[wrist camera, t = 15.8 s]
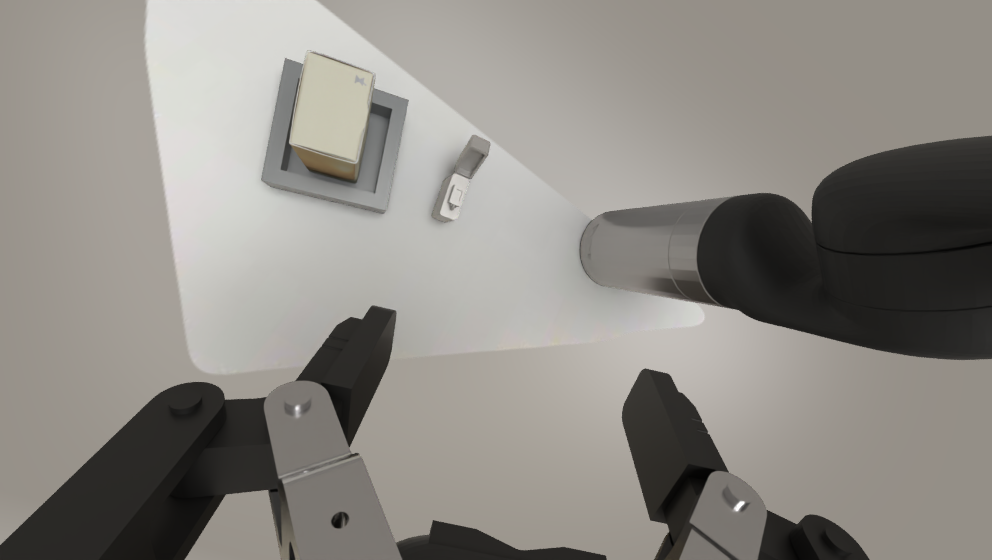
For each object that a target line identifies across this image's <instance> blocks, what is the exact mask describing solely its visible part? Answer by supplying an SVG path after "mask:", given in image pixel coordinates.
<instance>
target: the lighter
mask: <svg viewBox="0 0 992 560" xmlns="http://www.w3.org/2000/svg"><path fill="white" fill-rule="evenodd" d="M489 148H490V142H489V141H487V140H485V139H483V138H480V137H478V136H476V135H472V137H471V138H470V140H469V142H468V143H467V145H466V147H465V148H464V150H463V151H462V153H461V155H460V156H459V158H458V160H457V162H456V166H455V170H454V172H455V174H453V175H451V176H450V177H448V178H447V179H445V180H444V181H443V183H442V186H441V189H440V192H439V195H438V198H437V201H436V204H435V207H434V210H433V213H432V217H433V218H435V219H438V220H440V221H443V222H449V221H454V220H457V218H458V215H459V212H460V209H461V206H462V203H463V201H464V198H465V195H466V192H467V189H468V186H469V183H470V180H469V179H472V177H473V176H474V174H475V173H476V171H477V170H478V169H479V167H480V166H481V164H482V163H483V162H484V160H485V159H486V157H487V156H488V153H489Z"/></svg>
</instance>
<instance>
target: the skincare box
mask: <svg viewBox="0 0 992 560" xmlns="http://www.w3.org/2000/svg"><path fill="white" fill-rule="evenodd" d="M374 83H375V73H373V72H371V71H368V70H365V69H363V68H360V67H357V66H355V65H352V64H349V63H347V62H344V61H341V60H338V59H336V58H333V57H330V56H327V55H324V54H320V53H317V52H314V51H311V50H308V51H307V53H306V56H305V60H304V64H303V67H302V72H301V76H300V81H299V86H298V91H297V96H296V102H295V107H294V113H293V119H292V126H291V133H290V140H289V144H290V145H291V146H292V148H293V149H294V151H295V152H296V153H297V155H298V156H299V158H300V159H301V160H302V162H303V163H304V165H305V166H306V168H307V169H308V171H310V172H313V173H317V174H320V175H323V176H327V177H330V178H334V179H337V180H341V181H345V182H349V183H356V182H357V180H358V176H359V171H360V167H361V162H362V158H363V153H364V148H365V142H366V137H367V131H368V125H369V118H370V110H371V104H372V97H373V90H374Z"/></svg>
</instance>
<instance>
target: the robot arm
mask: <svg viewBox="0 0 992 560" xmlns="http://www.w3.org/2000/svg"><path fill="white" fill-rule="evenodd" d="M580 253H581V260H582V264H583V267H584V269H585V271H586V273H587V274H588V275H589V277H590V278H591V279H592V280H593V281H595V282H596V283H598V284H600V285H602V286H606V287H611V288H616V289H622V290H627V291H632V292H638V293H644V294H650V295H655V296H661V297H667V298H672V299H678V300H684V301H689V302H695V303H702V304H708V305H714V306H720V307H725V308H731V309H736V310H739V311H741V312H742V313H744V314H745V315H747V316H749V317H751V318H753V319H755V320H758V321H761V322H765V323H769V324H773V325H777V326H782V327H786V328H790V329H794V330H798V331H802V332H806V333H810V334H814V335H818V336H822V337H825V338H829V339H833V340H837V341H841V342H845V343H849V344H853V345H857V346H862V347H866V348H871V349H875V350H880V351H885V352H891V353H897V354H903V355H909V356H916V357H926V358H938V359H954V360H975V359H992V136H985V137H974V138H963V139H954V140H946V141H939V142H932V143H926V144H920V145H914V146H909V147H904V148H899V149H894V150H890V151H885V152H881V153H878V154H874V155H870V156H867V157H864V158H861V159H859V160H856V161H853V162H851V163H849V164H847V165H845V166H842V167H840V168H839V169H837V170H835V171H834V172H832V173H831V174H830V175H828V176H827V177H826V178H824V179H823V181H822V182H821V183H820V185H819V186H818V187H817V188H816V190H815V193H814V196H813V200H812V223H811V222H810V220H809V219H808V217H807V216H806V215H805V213H804V212H803V211H802V210H801V209H800V208H799V207H798V206H797V205H796V204H795V203H793V202H792V201H790V200H789V199H787V198H785V197H783V196H779V195H776V194H771V193H757V194H748V195H740V196H734V197H725V198H717V199H708V200H701V201H694V202H685V203H676V204H668V205H659V206H652V207H643V208H634V209H626V210H617V211H610V212H605V213H603V214H601V215H599V216H597V217H596V218H595V219H593V220H592V221H591V223H590V224H589V225H588V226H587V228H586V230H585V232H584V234H583V237H582V240H581V248H580ZM395 322H396V311H395V310H391V309H386V308H382V307H378V306H371V307H370V309H369V310H368V312H367V313H366V315H365V316H364V318H363V319H357V318H353V317H350V318H349V319H347V320H345V321H343V322H342V323H340V324H338V325H337V326H336V327H335V329H334V330H333V331H332V333H331V334H330V335H329V338H327V339H326V341H325V342H324V343H323V345H322V347H320V349H319V350H318V351H317V353H316V354H315V355H314V357H313V358H312V359H311V361H310V362H309V363H308V365H307V366H306V367H305V369H304V370H303V372H302V373H301V374H300V375H299V377H298V378H297V380H296V381H294V382H289V383H286V384H284V385H281V386H279V387H277V388H276V389H274V390H273V391H272V392H271V393H270V394H269V395H268V397H264V398H257V399H234V400H225V398H224V393H223V391H222V390H221V389H220V388H219V387H217V386H216V385H213V384H210V383H205V382H192V383H184V384H180V385H177V386H174V387H171V388H169V389H167V390H165V391H163V392H161V393H160V394H158V395H157V396H155V398H153V399H152V400H151V401H150V402H149V403H148V404H147V405H146V406H145V407H143V408H142V409H141V410H140V412H138V413H137V414H136V415H135V416H134V417H133V418H132V419H131V420H130V421H129V422H128V423H127V424H126V425H125V426H124V427H123V428H122V429H121V430H120V431H119V432H118V433H116V434H115V435H114V436H113V437H112V438H111V439H110V440H109V441H108V442H107V443H106V444H105V445H104V446H103V447H102V448H101V449H100V450H99V451H98V452H97V453H96V454H95V455H94V456H93V457H91V458H90V459H89V460H88V461H87V462H86V463H85V464H84V465H83V466H82V467H81V468H80V469H79V470H78V471H77V472H76V473H75V474H74V475H73V476H72V477H71V478H70V479H69V480H68V481H67V482H66V483H64V484H63V485H62V486H61V487H60V488H59V489H58V490H57V491H56V492H55V493H54V494H53V495H52V496H51V497H50V498H49V499H48V500H47V501H46V502H45V503H44V504H43V505H42V506H41V507H39V508H38V509H37V510H36V511H35V512H34V513H33V514H32V515H31V516H30V517H29V518H28V519H27V520H26V521H25V522H24V523H23V524H22V525H21V526H20V527H19V528H18V529H17V530H16V531H15V532H13V533H12V534H11V535H10V536H9V537H8V538H7V539H6V540H5V541H4V542H3V543H2V544H1V545H0V560H184V559H185V558H186V556H187V555H188V553H189V552H190V550H191V549H192V547H193V545H194V544H195V542H196V541H197V539H198V538H199V536H200V534H201V533H202V531H203V530H204V528H205V526H206V525H207V523H208V522H209V520H210V518H211V517H212V516H213V514H214V512H215V511H216V509H217V508H218V506H219V505H220V503H221V501H222V500H223V498H224V497H225V495H226V494H233V493H242V492H251V491H261V490H268V491H269V497H270V502H271V508H272V513H273V519H274V524H275V529H276V535H277V541H278V545H279V551H280V557H281V560H606V556H605V555H600V554H595V553H591V552H586V551H581V550H576V549H571V548H566V547H560V548H548V549H537V550H525V551H524V550H518V549H515V548H513V547H511V546H509V545H507V544H505V543H503V542H501V541H499V540H497V539H495V538H493V537H491V536H489V535H487V534H485V533H483V532H481V531H479V530H477V529H473V528H468V527H463V526H458V525H453V524H448V523H444V522H439V521H434V520H433V523H432V527H431V530H430V534H429V535H423V536H417V537H412V538H408V539H405V540H403V541H399V542H397V543H396V542H395V540H394V537H393V535H392V533H391V530H390V527H389V525H388V522H387V520H386V517H385V515H384V512H383V510H382V507H381V505H380V502H379V499H378V497H377V495H376V492H375V489H374V487H373V484H372V482H371V479H370V477H369V474H368V472H367V469H366V467H365V464H364V462H363V459H362V458H361V456H360V455H359V454H358V453H355V454H352V453H351V451H350V449H349V447H350V445H351V443H352V441H353V439H354V437H355V434H356V432H357V430H358V428H359V426H360V424H361V421H362V419H363V417H364V415H365V413H366V411H367V409H368V407H369V404H370V402H371V400H372V398H373V396H374V394H375V392H376V390H377V387H378V385H379V383H380V381H381V379H382V377H383V374H384V372H385V370H386V368H387V365H388V362H389V359H390V355H391V350H392V343H393V336H394V329H395ZM622 422H623V426H624V429H625V433H626V436H627V440H628V443H629V447H630V450H631V454H632V458H633V461H634V464H635V468H636V471H637V475H638V478H639V482H640V485H641V489H642V493H643V496H644V500H645V503H646V507H647V510H648V514H649V517H650V520H651V521H656V522H661V523H666V524H667V525H668V528H669V532H668V533H667V535H666V536H665V538H664V540H663V542H662V544H661V546H660V548H659V550H658V553H657V554H656V556H655V559H654V560H869V558H868V557H867V555H866V554H865V552H864V551H863V550H862V548H861V547H860V545H859V544H858V543H857V542H856V541H855V540H854V539H853V538H852V537H851V536H850V535H849V534H848V533H847V532H846V531H845V530H843V529H842V528H841V527H839V526H838V525H836V524H835V523H833V522H832V521H830V520H828V519H826V518H823V517H821V516H818V515H807V516H805V517H804V518H803V519H802V520H801V521H800V522H799V523H798V524H795V523H793V522H791V521H788V520H787V519H785V518H783V517H780V516H778V515H776V514H774V513H772V512H770V511H768V510H766V507H765V505H764V503H763V501H762V499H761V498H760V496H759V495H758V494H757V493H756V491H755V490H754V489H753V488H752V487H751V486H750V485H748V484H747V483H746V482H745V481H743V480H742V479H740V478H738V477H737V476H735V475H733V474H730V473H729V472H728V470H727V468H726V466H725V464H724V462H723V460H722V458H721V456H720V454H719V452H718V450H717V448H716V447H715V445H714V443H713V441H712V439H711V437H710V435H709V434H708V431H707V429H706V427H705V425H704V423H702V419H701V417H700V415H699V414H698V412H697V410H696V408H695V406H694V405H693V404H692V403H691V402H690V401H689V400H688V398H687V397H686V396H685V395H684V394H683V393H680V392H678V390H677V388H676V386H675V384H674V382H673V380H672V378H671V376H670V375H669V374H667V373H663V372H658V371H654V370H649V369H643V370H642V371H641V372H640V374H639V376H638V378H637V380H636V382H635V384H634V385H633V387H632V389H631V391H630V393H629V395H628V397H627V399H626V401H625V403H624V406H623V411H622Z"/></svg>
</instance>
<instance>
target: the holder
mask: <svg viewBox="0 0 992 560" xmlns="http://www.w3.org/2000/svg"><path fill="white" fill-rule="evenodd" d="M302 67H303V64H301V63H298V62H295V61H292V60H289V59H286V58H285V61H284V66H283V71H282V76H281V82H280V87H279V92H278V97H277V102H276V107H275V112H274V117H273V122H272V127H271V132H270V137H269V142H268V147H267V153H266V158H265V163H264V168H263V173H262V178H261V180H262V181H263V182H265V183H266V184H267V185H269V186H270V187H274V188H279V189H283V190H287V191H291V192H295V193H300V194H304V195H308V196H312V197H316V198H321V199H325V200H329V201H333V202H337V203H342V204H346V205H350V206H354V207H358V208H362V209H367V210H371V211H375V212H379V213H384V212H385V211H386V209H387V204H388V199H389V194H390V189H391V184H392V180H393V175H394V170H395V165H396V160H397V155H398V150H399V145H400V140H401V135H402V130H403V125H404V120H405V116H406V111H407V106H408V101H409V100H407V99H404V98H401V97H398V96H395V95H392V94H389V93H386V92H383V91H380V90H377V89H375V88H374V90H373V97H372V104H371V110H370V118H369V125H368V131H367V137H366V142H365V148H364V153H363V158H362V162H361V167H360V171H359V176H358V180H357V182H356V183H349V182H345V181H341V180H337V179H334V178H330V177H327V176H323V175H320V174H317V173H313V172H310V171H308V169H307V168H306V166H305V165H304V163H303V162H302V160H301V159H300V158H299V156H298V155H297V153H296V152H295V151H294V149H293V148H292V146H291V145H290V144H289V140H290V133H291V126H292V119H293V113H294V107H295V102H296V96H297V91H298V86H299V81H300V76H301V72H302Z"/></svg>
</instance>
